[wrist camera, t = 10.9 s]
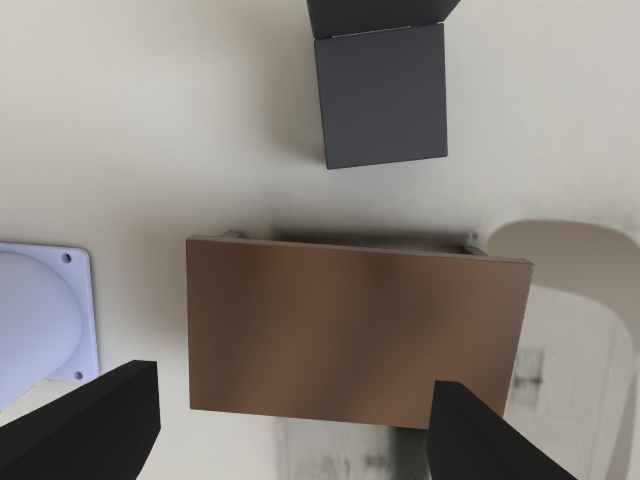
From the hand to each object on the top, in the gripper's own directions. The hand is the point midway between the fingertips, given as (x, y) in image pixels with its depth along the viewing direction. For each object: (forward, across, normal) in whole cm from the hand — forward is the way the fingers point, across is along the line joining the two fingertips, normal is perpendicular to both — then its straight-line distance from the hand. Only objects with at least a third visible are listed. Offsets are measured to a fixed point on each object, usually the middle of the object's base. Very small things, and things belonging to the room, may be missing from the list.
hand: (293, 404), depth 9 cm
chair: (+10, -2, -9) cm, 14 cm away
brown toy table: (+10, -2, +1) cm, 11 cm away
